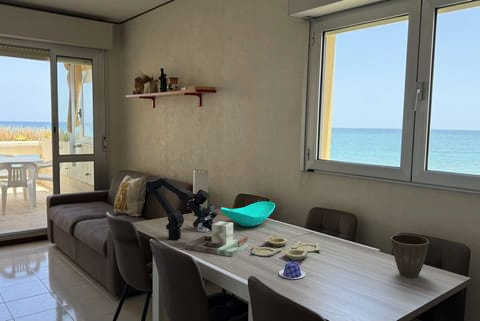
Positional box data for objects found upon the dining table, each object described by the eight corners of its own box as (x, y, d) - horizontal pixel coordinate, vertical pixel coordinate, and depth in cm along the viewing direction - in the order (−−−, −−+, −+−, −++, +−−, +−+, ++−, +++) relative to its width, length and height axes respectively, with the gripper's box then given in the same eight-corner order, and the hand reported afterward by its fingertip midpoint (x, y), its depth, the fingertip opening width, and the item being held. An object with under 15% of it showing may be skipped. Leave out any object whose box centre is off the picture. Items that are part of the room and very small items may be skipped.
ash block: (211, 242, 206) (211, 224, 205) (219, 238, 213) (218, 221, 212) (226, 244, 202) (226, 226, 201) (233, 240, 209) (233, 222, 208)
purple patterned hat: (287, 268, 176) (287, 257, 175) (310, 273, 168) (311, 262, 168) (273, 276, 166) (273, 264, 166) (297, 282, 159) (297, 270, 158)
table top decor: (259, 217, 274) (259, 199, 273) (284, 225, 251) (285, 205, 250) (212, 225, 252) (211, 205, 250) (235, 235, 229) (235, 213, 228)
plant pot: (409, 284, 156) (410, 246, 154) (382, 271, 169) (383, 236, 168) (435, 278, 162) (436, 241, 160) (407, 266, 175) (408, 233, 174)
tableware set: (325, 247, 205) (325, 240, 205) (312, 265, 179) (312, 257, 179) (265, 239, 220) (265, 233, 220) (244, 255, 194) (244, 247, 193)
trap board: (186, 248, 203) (185, 238, 203) (204, 239, 220) (204, 230, 220) (232, 256, 191) (232, 245, 190) (248, 245, 208) (248, 236, 207)
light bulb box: (207, 232, 235) (207, 215, 234) (197, 231, 237) (196, 214, 236) (212, 227, 246) (212, 211, 245) (202, 227, 247) (202, 211, 246)
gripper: (197, 203, 202) (215, 225, 198) (214, 197, 219) (231, 218, 215) (185, 216, 206) (202, 238, 202) (203, 209, 223) (219, 230, 219)
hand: (215, 231), depth 209 cm, fingers closed, pressing on ash block
